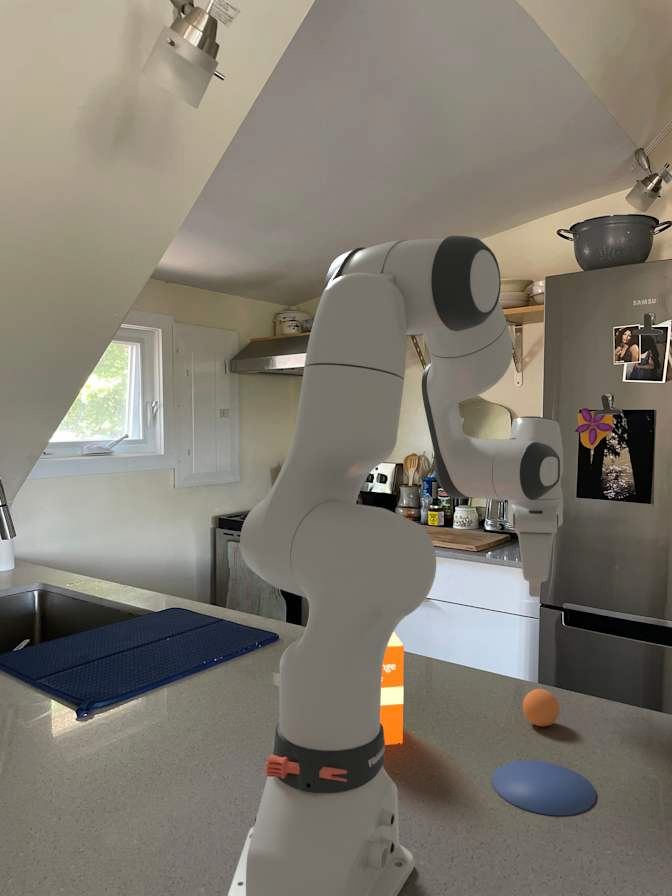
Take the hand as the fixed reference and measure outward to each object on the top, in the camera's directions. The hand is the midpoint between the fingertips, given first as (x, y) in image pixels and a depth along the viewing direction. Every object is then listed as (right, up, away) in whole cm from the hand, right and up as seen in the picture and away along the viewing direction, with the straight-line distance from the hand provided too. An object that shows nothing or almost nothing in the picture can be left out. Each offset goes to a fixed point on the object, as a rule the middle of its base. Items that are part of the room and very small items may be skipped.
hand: (534, 594), depth 118 cm
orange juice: (-28, -19, -11) cm, 36 cm away
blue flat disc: (-7, -20, -27) cm, 34 cm away
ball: (-2, -16, -9) cm, 18 cm away
